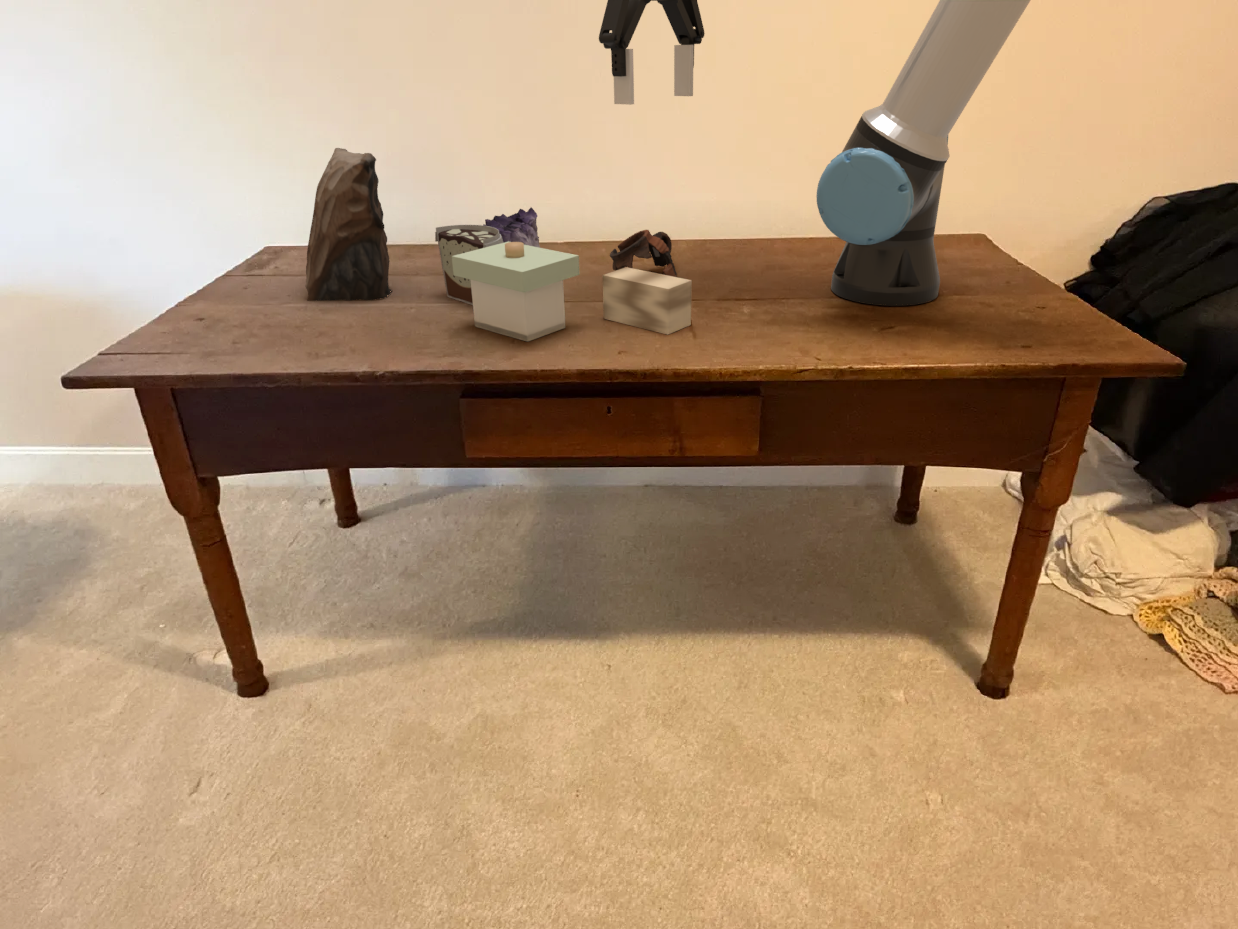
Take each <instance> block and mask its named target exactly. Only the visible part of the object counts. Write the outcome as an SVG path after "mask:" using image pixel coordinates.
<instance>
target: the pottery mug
mask: <svg viewBox="0 0 1238 929" xmlns="http://www.w3.org/2000/svg"><path fill="white" fill-rule="evenodd" d="M672 243H673V242H672V240H671V237H670V236H669V235H668V233H666V232H664V231H658V232H656V233H654V234H653V235H652V234H651V231H650V230H649V229H644V230H639V231H637V232H636V233H634V234H632V235H630V236H628V237H627V238H625V239H624V240H623V241H622V242H620V243H618V245H617V249H618V250H619V251H618V250H617V249H616V248H614V249H612V250H611V251H610V253H609V258H611V260H612V270H613V271H616V270H619V269H622V268H626V267H628V268H633V263H634V257H636V258H639V259H647V260H649V259H651V258H652V261H653V264H654V266H656V267H662V268H663V267H664V269H663V270H662V273H663V275H668V276H673V277H677V275H678V274H677V271H676V266H675V263H674V262H673V259H672V255H671V252H672V248H673V246H672ZM633 269H634V268H633Z"/></svg>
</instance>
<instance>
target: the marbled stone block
mask: <svg viewBox="0 0 1238 929" xmlns="http://www.w3.org/2000/svg"><path fill="white" fill-rule="evenodd" d="M692 282H693V280H692V279H687V278H683V277H677V276H676V277H673V276H668V275H664V273H663V274H662V273H657V272H653V271H652V272H651V271H648V270H642V269H638V268H628V267H625V268H622V269H619V270H613V271H611V272H608V273H604V274H602V308H603V309H602V310H603V319H604V320H609V321H612V322H616V323H620V324H623V325H627V326H632V327H636V328H640V329H645V330H647V331H651V332H656V333H659V334H664V335H666V336H667V335H671V334H673V333H675V332H677V331H680V330H682V329H684V328H687V327H689V326H691V324H692V323H691V322H692V286H693V283H692Z"/></svg>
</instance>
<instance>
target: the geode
mask: <svg viewBox="0 0 1238 929" xmlns="http://www.w3.org/2000/svg"><path fill="white" fill-rule="evenodd" d="M537 218H538V214H537V212H536V211H535V210H534V208H533V207H532V206H530V208H529V209H527V211H525V210H524V209H522V208H519V210H518V211H517V212H514V213H513V214H511V215H509V216H507V215H505V214H504V213H502V214H501V215H494V216H493V218H492V219H489V218H487V219H485V220H484V221H485V224H484V223H483V226H490V227H494V228H496V229H498V230H499V234H501V236H502V239H503V243H505V242H508V241H509V242H522V243H524V245H529V246H534V247H539V248H541V245H540V236H539V235H538V234H539V233H538V225H537Z"/></svg>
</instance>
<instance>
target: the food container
mask: <svg viewBox="0 0 1238 929" xmlns="http://www.w3.org/2000/svg"><path fill="white" fill-rule="evenodd" d="M434 234H435V235H434V236H435V238H434V239H435V240H434V241H435V242H436V243H437V244H438V250H439V256H440V262H441V267H442V268H441V269H442V273H443V274H442V275H443V279H444V280H443V281H444V285H445V286H444V287H445V291H446V297H447V298H450V299H453V300H456V301H459V302H462V303H465V304H468V305H470V306H471V305H472V306H473V301H472V290H471V280H470V279H467V278H463V277H458V276H454V273H453V264H452V256H454V255H458V254H462V253H466V252H470V251H474V250H477V249H481V248H485V247H489V246H493V245H497V244H501V243H503V239H502V236H501V234H499V230H498V229H496V228H494V227H490V226H483V225H482V224H453V225H444V226H443V225H442V226H438V227H435V232H434Z"/></svg>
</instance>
